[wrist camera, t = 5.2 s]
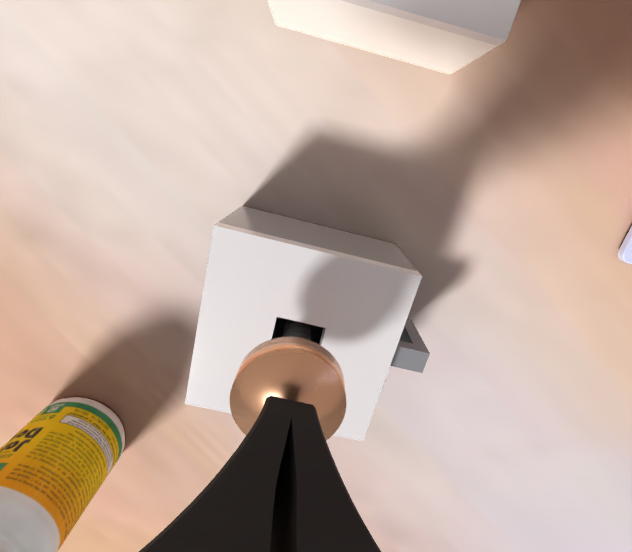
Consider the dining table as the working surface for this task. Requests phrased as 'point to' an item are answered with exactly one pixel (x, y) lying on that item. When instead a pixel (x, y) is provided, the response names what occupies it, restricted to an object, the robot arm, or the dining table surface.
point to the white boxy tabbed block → (304, 306)
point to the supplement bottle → (55, 472)
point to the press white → (405, 27)
